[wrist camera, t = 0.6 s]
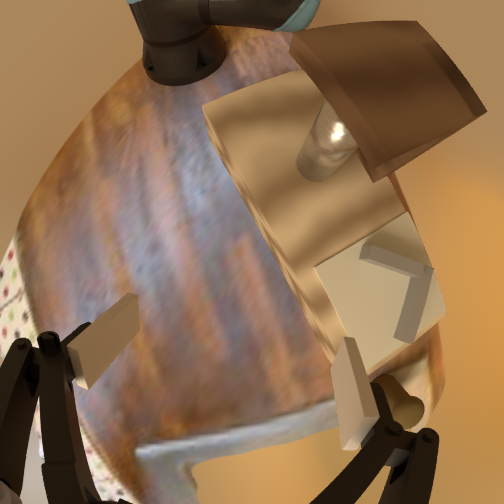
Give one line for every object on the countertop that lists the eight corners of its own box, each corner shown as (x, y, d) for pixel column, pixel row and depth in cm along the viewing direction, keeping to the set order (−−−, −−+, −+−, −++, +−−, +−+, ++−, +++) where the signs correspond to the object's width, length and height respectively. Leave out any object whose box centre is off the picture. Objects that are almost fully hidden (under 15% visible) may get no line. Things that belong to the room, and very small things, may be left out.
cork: (377, 369, 39) (412, 395, 28) (401, 379, 39) (437, 403, 28) (359, 400, 39) (387, 432, 28) (384, 408, 39) (414, 437, 28)
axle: (295, 144, 30) (322, 84, 18) (332, 148, 30) (373, 94, 18) (296, 180, 30) (327, 131, 18) (334, 183, 30) (381, 140, 18)
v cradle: (313, 267, 29) (321, 267, 27) (406, 211, 30) (419, 207, 27) (363, 370, 29) (373, 378, 26) (444, 307, 30) (458, 310, 27)
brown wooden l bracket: (267, 148, 30) (293, 32, 12) (349, 115, 31) (416, 20, 13) (307, 217, 30) (389, 156, 12) (387, 175, 30) (487, 111, 12)
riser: (209, 139, 40) (201, 105, 30) (298, 102, 41) (311, 65, 31) (328, 360, 39) (352, 385, 29) (408, 306, 40) (446, 314, 30)
